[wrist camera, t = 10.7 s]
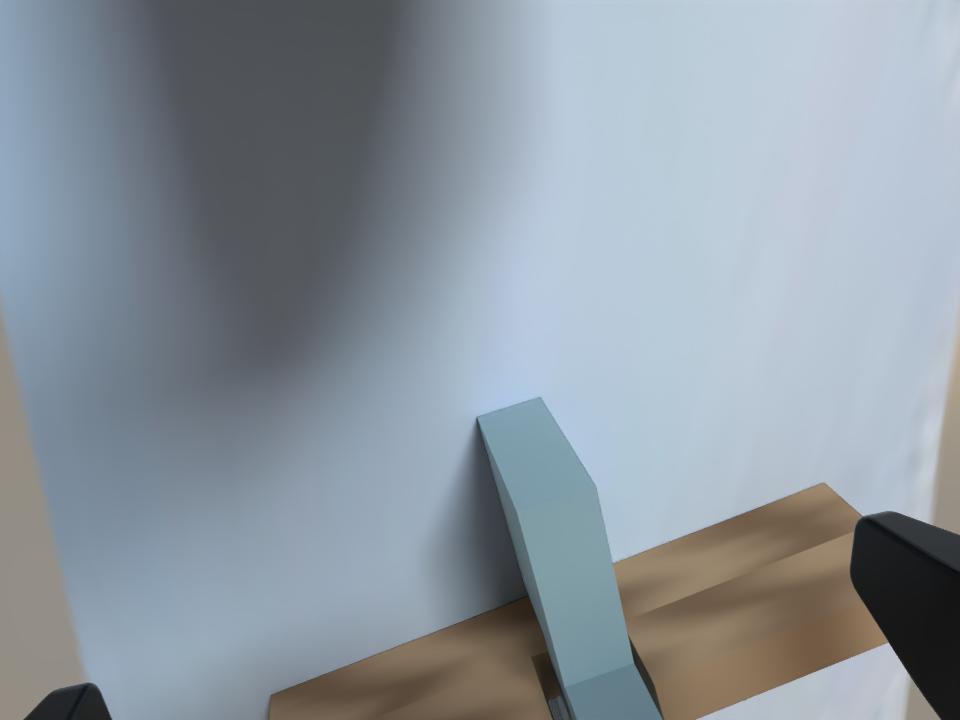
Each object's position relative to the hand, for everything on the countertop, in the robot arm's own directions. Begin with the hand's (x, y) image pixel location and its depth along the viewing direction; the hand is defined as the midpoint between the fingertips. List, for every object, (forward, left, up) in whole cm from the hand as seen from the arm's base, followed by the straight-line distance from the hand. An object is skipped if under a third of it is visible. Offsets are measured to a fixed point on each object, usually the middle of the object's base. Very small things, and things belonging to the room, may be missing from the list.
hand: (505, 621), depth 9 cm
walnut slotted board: (+8, +10, -13) cm, 18 cm away
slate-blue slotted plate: (+8, +10, -13) cm, 18 cm away
